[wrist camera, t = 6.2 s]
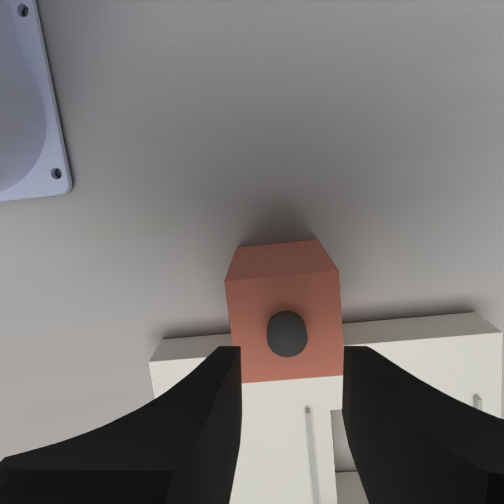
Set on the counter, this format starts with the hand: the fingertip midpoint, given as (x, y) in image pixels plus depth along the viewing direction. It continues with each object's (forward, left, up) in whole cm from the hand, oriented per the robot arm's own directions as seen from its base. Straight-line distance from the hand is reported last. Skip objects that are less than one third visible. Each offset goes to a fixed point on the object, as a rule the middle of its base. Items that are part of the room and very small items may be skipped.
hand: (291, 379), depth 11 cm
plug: (0, 0, -10) cm, 10 cm away
